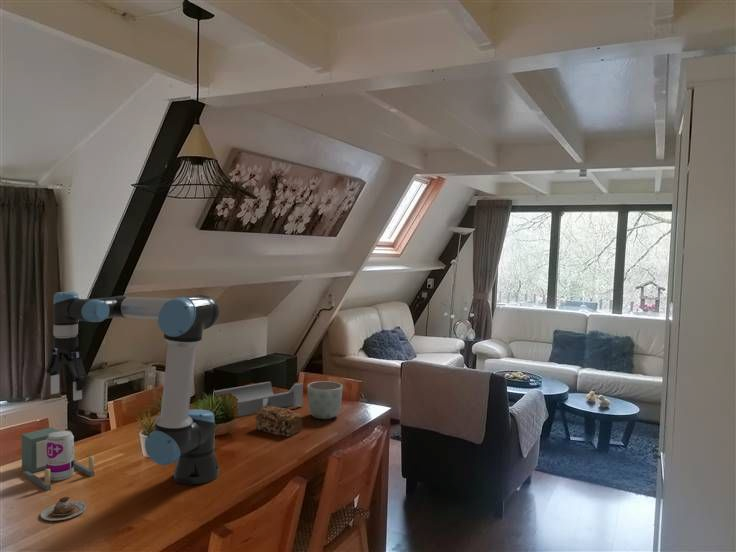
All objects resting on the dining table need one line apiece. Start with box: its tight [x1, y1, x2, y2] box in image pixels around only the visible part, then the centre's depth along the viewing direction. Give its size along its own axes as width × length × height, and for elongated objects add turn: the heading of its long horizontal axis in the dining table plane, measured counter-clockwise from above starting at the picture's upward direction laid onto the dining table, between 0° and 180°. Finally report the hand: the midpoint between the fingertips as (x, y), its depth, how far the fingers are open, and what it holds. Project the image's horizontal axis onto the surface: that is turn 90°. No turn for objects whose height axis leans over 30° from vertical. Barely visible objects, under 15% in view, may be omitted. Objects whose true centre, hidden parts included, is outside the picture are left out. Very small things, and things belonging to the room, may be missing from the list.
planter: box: [306, 380, 343, 420], centre depth 260 cm, size 17×17×15 cm
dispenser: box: [21, 426, 95, 492], centre depth 189 cm, size 26×16×12 cm, turn 54°
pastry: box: [40, 496, 87, 522], centre depth 162 cm, size 12×12×5 cm
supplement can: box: [46, 429, 75, 482], centre depth 186 cm, size 8×8×15 cm
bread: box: [254, 406, 303, 437], centre depth 239 cm, size 19×11×10 cm, turn 61°
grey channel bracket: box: [213, 381, 304, 418], centre depth 275 cm, size 33×32×13 cm
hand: (66, 396), depth 189 cm, fingers open, 13 cm apart
